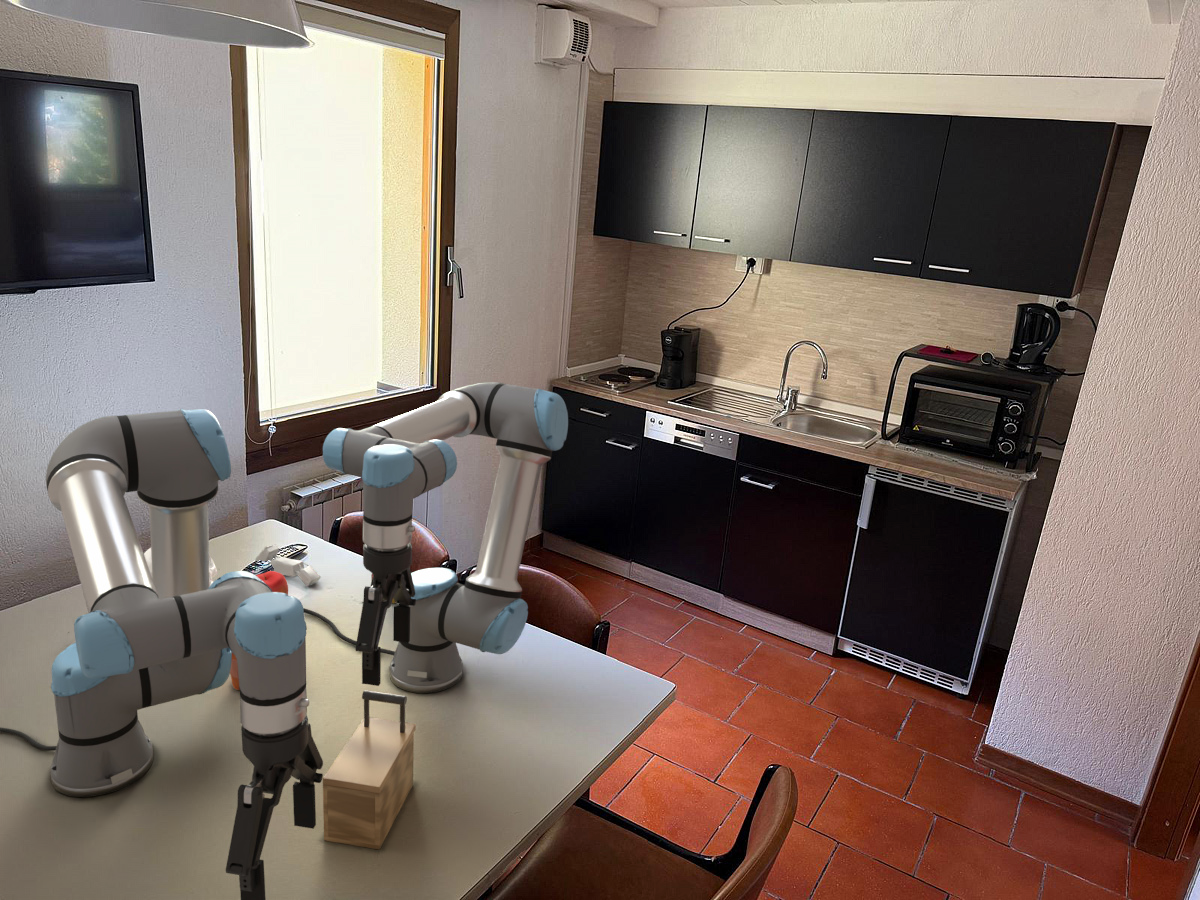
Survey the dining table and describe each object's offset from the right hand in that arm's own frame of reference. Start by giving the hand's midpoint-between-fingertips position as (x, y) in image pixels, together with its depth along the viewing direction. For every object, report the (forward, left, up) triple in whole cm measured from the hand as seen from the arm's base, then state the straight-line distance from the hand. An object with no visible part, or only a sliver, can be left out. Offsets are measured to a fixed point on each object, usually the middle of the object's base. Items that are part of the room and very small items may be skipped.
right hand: (387, 661), depth 141 cm
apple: (-62, +31, -25) cm, 74 cm away
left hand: (+12, -34, -8) cm, 37 cm away
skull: (-81, +24, -25) cm, 88 cm away
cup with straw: (-43, +9, -25) cm, 51 cm away
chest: (+2, -6, -25) cm, 26 cm away
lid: (+2, -6, -14) cm, 15 cm away
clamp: (-74, +48, -25) cm, 92 cm away
